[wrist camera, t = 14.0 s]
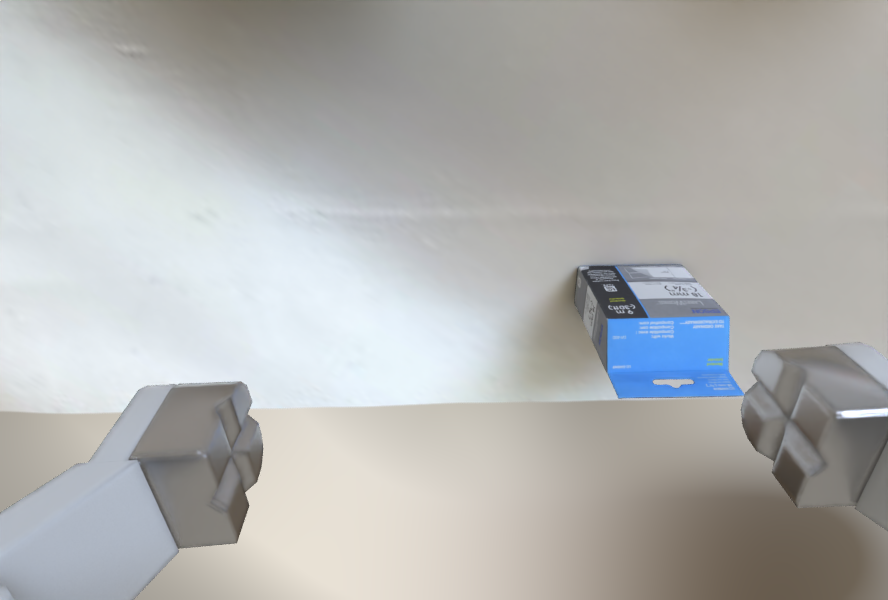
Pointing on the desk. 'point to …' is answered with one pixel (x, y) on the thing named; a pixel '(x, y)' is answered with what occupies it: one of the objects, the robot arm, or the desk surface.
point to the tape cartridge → (656, 330)
